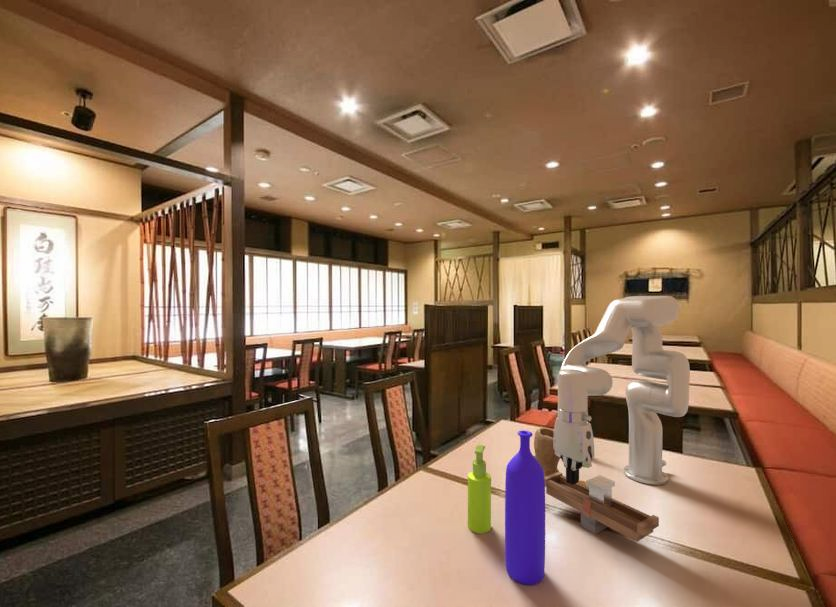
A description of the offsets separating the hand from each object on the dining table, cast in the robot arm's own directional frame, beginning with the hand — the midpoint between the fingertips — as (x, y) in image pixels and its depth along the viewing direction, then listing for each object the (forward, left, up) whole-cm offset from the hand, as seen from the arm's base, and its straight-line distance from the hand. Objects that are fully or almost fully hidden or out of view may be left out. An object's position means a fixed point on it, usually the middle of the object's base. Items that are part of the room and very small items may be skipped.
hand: (572, 482), depth 102 cm
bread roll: (-11, -7, -9) cm, 16 cm away
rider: (0, +8, -2) cm, 8 cm away
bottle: (+28, +9, -9) cm, 31 cm away
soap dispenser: (+25, -9, -9) cm, 28 cm away
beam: (0, +7, -9) cm, 11 cm away
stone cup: (-13, -20, -9) cm, 26 cm away
